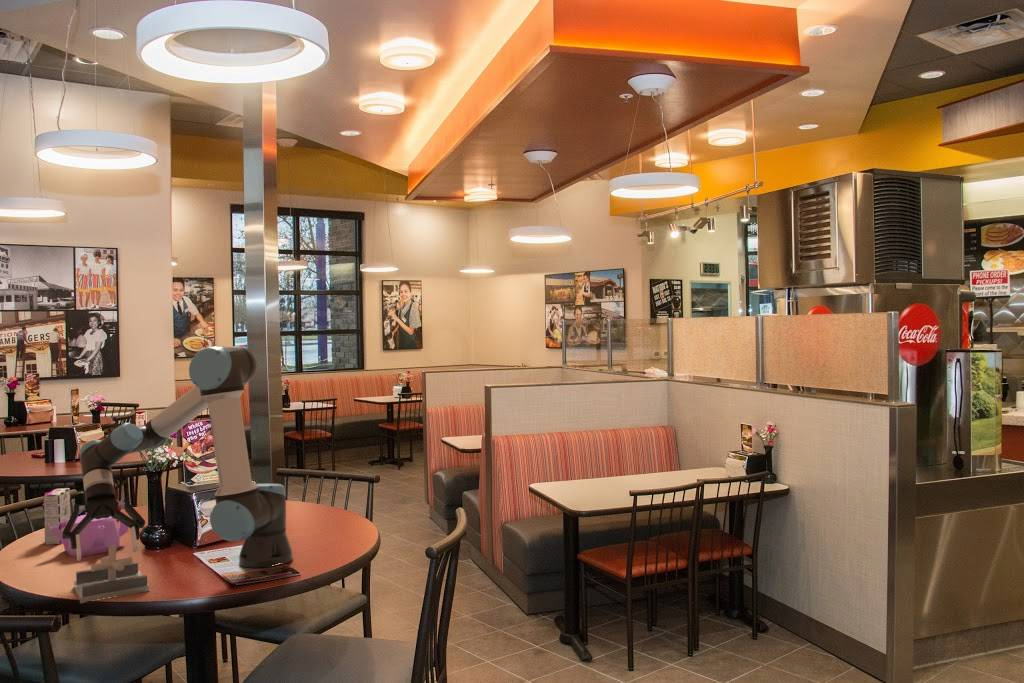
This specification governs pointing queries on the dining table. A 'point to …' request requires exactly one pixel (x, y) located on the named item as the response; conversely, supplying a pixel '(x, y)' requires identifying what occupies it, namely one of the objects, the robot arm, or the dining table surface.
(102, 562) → the pipe connector
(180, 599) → the dining table surface
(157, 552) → the dining table surface
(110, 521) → the teakettle
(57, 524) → the candy bar box
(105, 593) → the cradle plate
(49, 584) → the dining table surface
